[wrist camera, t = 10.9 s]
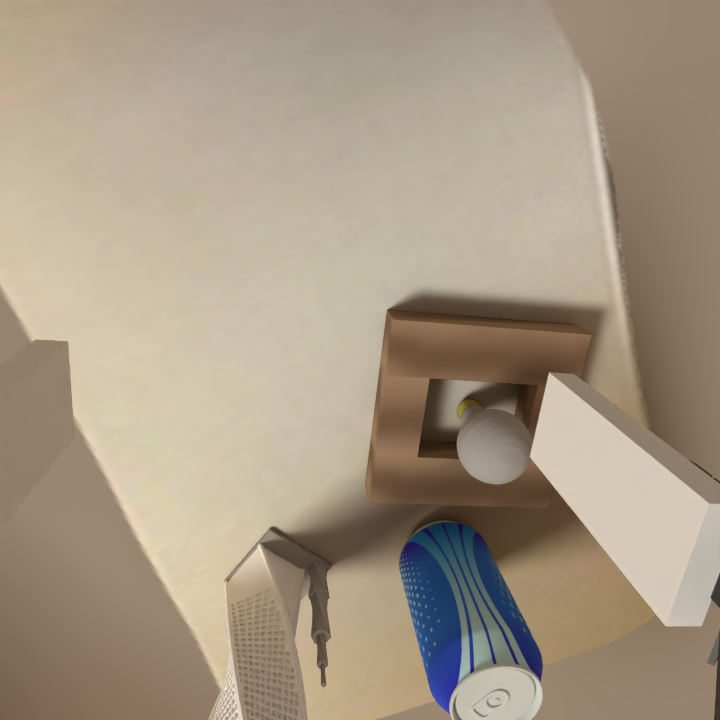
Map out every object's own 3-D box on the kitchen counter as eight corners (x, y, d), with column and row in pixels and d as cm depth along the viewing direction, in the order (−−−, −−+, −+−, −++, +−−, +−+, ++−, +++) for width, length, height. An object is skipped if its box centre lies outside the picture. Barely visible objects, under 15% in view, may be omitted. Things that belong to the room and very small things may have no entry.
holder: (387, 309, 44) (393, 319, 42) (573, 324, 47) (591, 334, 44) (365, 483, 50) (369, 503, 47) (534, 489, 52) (548, 508, 49)
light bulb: (484, 367, 47) (530, 417, 38) (505, 418, 49) (555, 478, 40) (425, 394, 47) (457, 451, 38) (449, 445, 49) (485, 510, 40)
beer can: (394, 519, 51) (435, 666, 36) (483, 507, 52) (559, 647, 37) (398, 591, 54) (438, 756, 39) (482, 580, 55) (553, 737, 40)
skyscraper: (276, 623, 54) (258, 1063, 27) (205, 585, 51) (110, 1026, 25) (330, 564, 52) (366, 970, 26) (259, 521, 50) (219, 921, 23)
